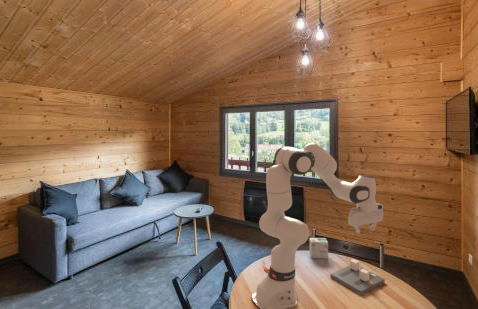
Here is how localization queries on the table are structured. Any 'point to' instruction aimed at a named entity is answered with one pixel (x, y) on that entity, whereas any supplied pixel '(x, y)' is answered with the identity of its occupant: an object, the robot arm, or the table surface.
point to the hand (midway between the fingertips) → (365, 231)
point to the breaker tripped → (364, 275)
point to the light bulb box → (318, 248)
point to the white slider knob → (354, 264)
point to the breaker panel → (356, 280)
